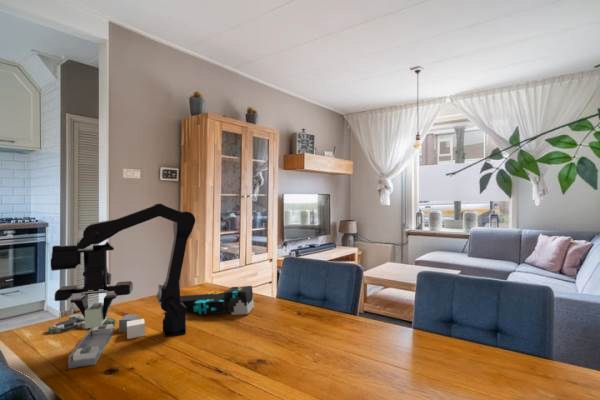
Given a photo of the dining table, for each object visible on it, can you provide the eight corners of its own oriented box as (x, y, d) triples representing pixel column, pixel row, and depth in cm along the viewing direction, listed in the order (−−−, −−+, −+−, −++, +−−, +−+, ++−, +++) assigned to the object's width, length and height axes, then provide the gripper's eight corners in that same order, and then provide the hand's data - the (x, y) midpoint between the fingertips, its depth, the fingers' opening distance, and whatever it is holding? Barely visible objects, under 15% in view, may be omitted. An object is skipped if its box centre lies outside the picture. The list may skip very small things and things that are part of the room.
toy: (184, 288, 138) (254, 283, 134) (186, 308, 138) (256, 303, 134) (164, 299, 123) (242, 294, 119) (166, 321, 123) (245, 317, 119)
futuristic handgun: (84, 332, 102) (123, 314, 116) (40, 326, 107) (83, 309, 122) (85, 341, 102) (124, 322, 116) (41, 334, 107) (83, 317, 122)
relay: (144, 330, 109) (143, 318, 109) (144, 336, 104) (144, 323, 104) (126, 333, 106) (126, 321, 106) (127, 339, 102) (127, 326, 102)
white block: (138, 325, 113) (138, 314, 113) (131, 331, 108) (131, 319, 108) (126, 326, 112) (126, 314, 112) (119, 332, 108) (119, 319, 108)
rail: (114, 332, 107) (114, 321, 107) (95, 364, 86) (94, 351, 86) (93, 334, 105) (93, 324, 105) (68, 368, 84) (68, 355, 84)
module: (106, 319, 99) (106, 301, 99) (101, 326, 93) (100, 307, 93) (91, 320, 98) (91, 302, 98) (85, 328, 92) (84, 309, 92)
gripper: (135, 259, 106) (136, 307, 106) (68, 263, 100) (68, 314, 101) (129, 266, 96) (129, 319, 96) (53, 271, 90) (54, 328, 90)
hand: (96, 319), depth 96 cm, fingers closed on module, 4 cm apart
